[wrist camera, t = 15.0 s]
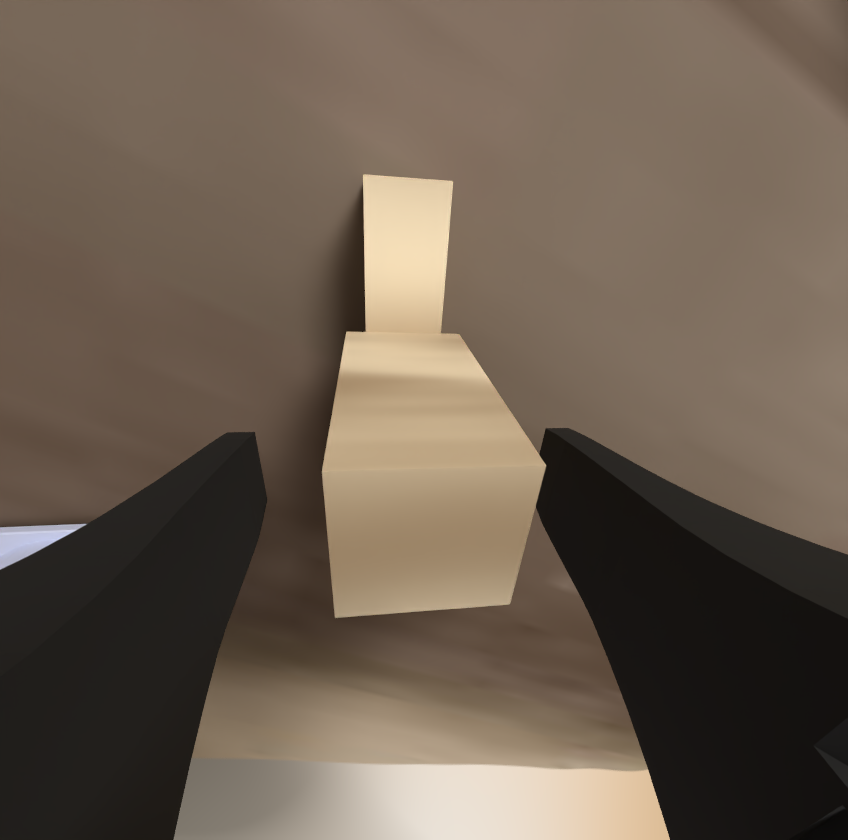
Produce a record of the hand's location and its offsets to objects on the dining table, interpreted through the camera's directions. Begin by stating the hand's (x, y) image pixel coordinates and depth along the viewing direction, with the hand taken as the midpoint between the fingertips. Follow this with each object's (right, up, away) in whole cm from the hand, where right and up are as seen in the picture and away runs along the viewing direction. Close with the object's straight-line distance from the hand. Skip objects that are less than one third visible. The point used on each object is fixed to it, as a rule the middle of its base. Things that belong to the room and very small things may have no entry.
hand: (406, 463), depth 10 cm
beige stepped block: (-1, +4, +4) cm, 5 cm away
